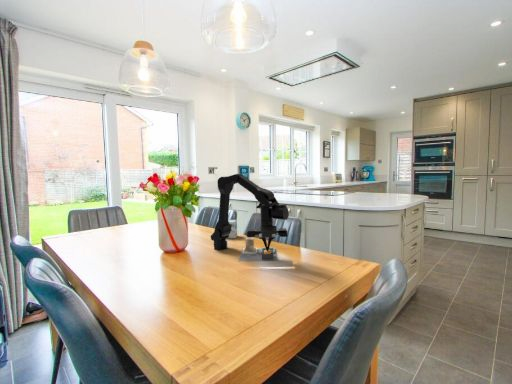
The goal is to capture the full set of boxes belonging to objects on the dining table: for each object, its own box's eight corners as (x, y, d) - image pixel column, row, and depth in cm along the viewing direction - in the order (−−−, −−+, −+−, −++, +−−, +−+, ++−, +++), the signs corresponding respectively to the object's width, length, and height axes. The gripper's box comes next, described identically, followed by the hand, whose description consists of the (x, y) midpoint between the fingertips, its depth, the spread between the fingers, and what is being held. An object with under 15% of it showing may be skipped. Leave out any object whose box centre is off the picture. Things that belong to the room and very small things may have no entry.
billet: (245, 253, 131) (245, 239, 131) (246, 250, 135) (246, 237, 135) (253, 253, 131) (253, 239, 130) (254, 250, 135) (253, 237, 134)
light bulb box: (237, 235, 171) (237, 219, 170) (235, 238, 164) (235, 221, 164) (221, 235, 172) (220, 219, 171) (219, 238, 166) (218, 221, 165)
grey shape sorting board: (238, 263, 120) (238, 255, 120) (242, 251, 138) (242, 244, 138) (277, 262, 119) (277, 255, 119) (276, 250, 137) (276, 244, 137)
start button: (263, 258, 122) (263, 251, 122) (264, 255, 125) (263, 249, 125) (271, 258, 122) (271, 251, 121) (271, 255, 125) (271, 249, 125)
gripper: (245, 221, 115) (246, 256, 116) (288, 221, 114) (288, 256, 115) (247, 217, 126) (248, 248, 127) (286, 216, 125) (286, 248, 126)
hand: (267, 250), depth 123 cm, fingers closed
